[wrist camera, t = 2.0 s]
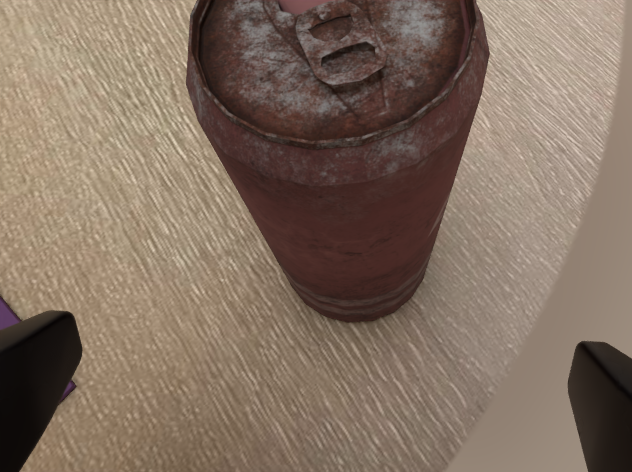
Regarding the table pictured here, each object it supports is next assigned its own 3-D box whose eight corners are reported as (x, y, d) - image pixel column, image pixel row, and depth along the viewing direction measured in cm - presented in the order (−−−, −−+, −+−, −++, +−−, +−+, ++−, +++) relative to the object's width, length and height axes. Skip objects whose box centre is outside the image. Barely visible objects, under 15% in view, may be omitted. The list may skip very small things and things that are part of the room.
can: (331, 167, 24) (280, -143, 11) (452, 235, 22) (561, -41, 9) (254, 271, 23) (92, 55, 10) (376, 353, 21) (380, 222, 8)
